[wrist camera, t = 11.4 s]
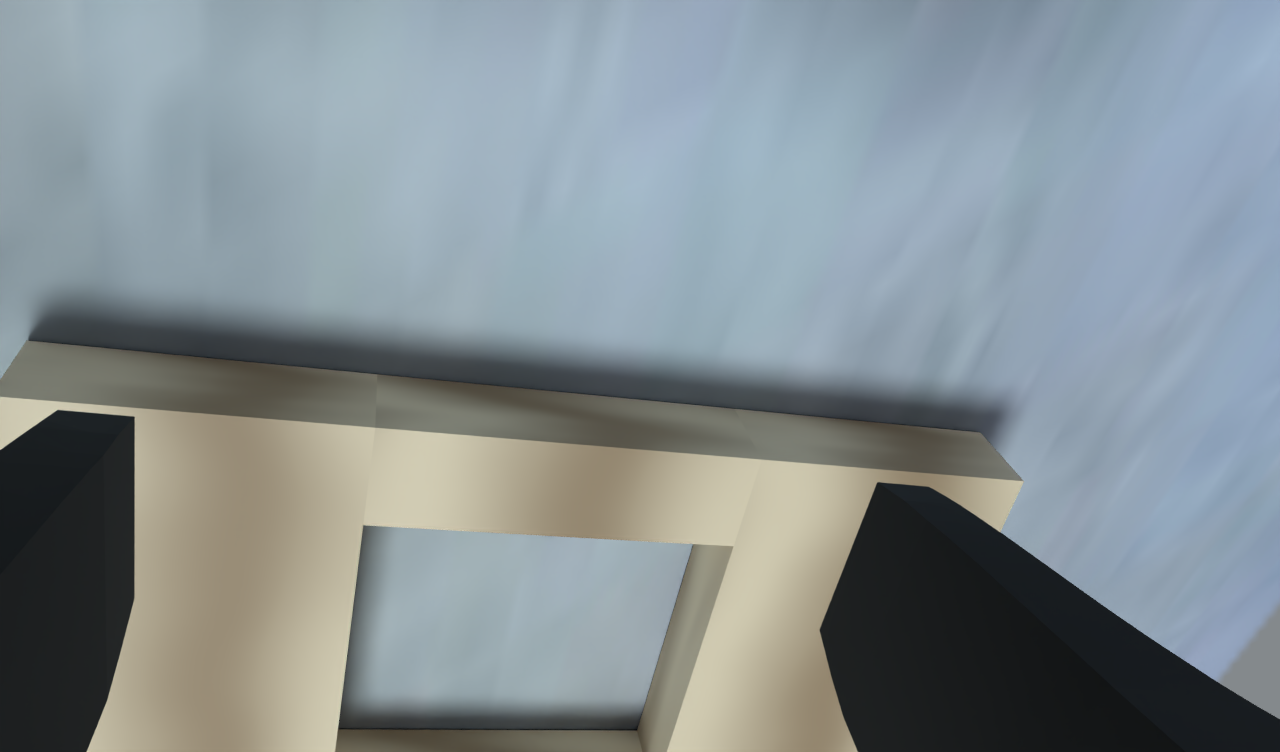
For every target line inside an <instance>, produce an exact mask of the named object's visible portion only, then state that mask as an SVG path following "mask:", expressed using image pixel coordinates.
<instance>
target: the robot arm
mask: <svg viewBox="0 0 1280 752" xmlns="http://www.w3.org/2000/svg"><path fill="white" fill-rule="evenodd" d="M134 599H135V417H134V416H123V415H111V414H100V413H89V412H77V411H66V410H57V411H55V412H54V413H52V414H51V415H49V416H48V417H46V418H45V419H44V420H42V421H41V422H39V423H38V424H36V425H35V426H33V427H32V428H31V429H29V430H28V431H26V432H25V433H23V434H22V435H20V436H19V437H18V438H16V439H15V440H13V441H12V442H11V443H9V444H8V445H6V446H5V447H4V448H2V449H1V450H0V752H87V750H88V747H89V745H90V742H91V740H92V737H93V735H94V732H95V730H96V728H97V725H98V723H99V720H100V717H101V715H102V712H103V710H104V707H105V705H106V702H107V699H108V696H109V692H110V689H111V685H112V681H113V678H114V674H115V671H116V667H117V663H118V660H119V656H120V652H121V649H122V645H123V641H124V637H125V633H126V629H127V626H128V622H129V618H130V614H131V610H132V606H133V602H134ZM819 630H820V634H821V638H822V642H823V646H824V650H825V654H826V658H827V662H828V666H829V669H830V673H831V677H832V681H833V684H834V687H835V691H836V694H837V697H838V701H839V704H840V707H841V711H842V714H843V717H844V720H845V722H846V725H847V727H848V729H849V732H850V734H851V737H852V739H853V742H854V744H855V746H856V749H857V751H858V752H1280V719H1278V718H1276V717H1275V716H1273V715H1271V714H1269V713H1268V712H1266V711H1264V710H1262V709H1261V708H1259V707H1257V706H1256V705H1254V704H1252V703H1251V702H1249V701H1247V700H1246V699H1244V698H1242V697H1241V696H1239V695H1237V694H1236V693H1234V692H1233V691H1231V690H1229V689H1228V688H1226V687H1224V686H1223V685H1221V684H1220V683H1218V682H1216V681H1215V680H1213V679H1212V678H1210V677H1209V676H1207V675H1206V674H1204V673H1202V672H1201V671H1199V670H1198V669H1196V668H1195V667H1193V666H1192V665H1190V664H1189V663H1187V662H1186V661H1184V660H1183V659H1181V658H1180V657H1178V656H1176V655H1175V654H1173V653H1172V652H1170V651H1169V650H1167V649H1166V648H1164V647H1163V646H1161V645H1160V644H1158V643H1157V642H1155V641H1154V640H1152V639H1151V638H1149V637H1148V636H1146V635H1145V634H1143V633H1142V632H1140V631H1139V630H1137V629H1136V628H1134V627H1133V626H1132V625H1130V624H1129V623H1127V622H1126V621H1124V620H1123V619H1121V618H1120V617H1118V616H1117V615H1116V614H1114V613H1113V612H1111V611H1110V610H1108V609H1107V608H1106V607H1104V606H1103V605H1101V604H1100V603H1098V602H1097V601H1096V600H1094V599H1093V598H1091V597H1090V596H1089V595H1087V594H1086V593H1084V592H1083V591H1082V590H1080V589H1079V588H1077V587H1076V586H1075V585H1073V584H1072V583H1070V582H1069V581H1068V580H1066V579H1065V578H1063V577H1062V576H1061V575H1059V574H1058V573H1056V572H1055V571H1054V570H1052V569H1051V568H1049V567H1048V566H1047V565H1045V564H1044V563H1042V562H1041V561H1040V560H1038V559H1037V558H1035V557H1034V556H1033V555H1031V554H1030V553H1028V552H1027V551H1026V550H1024V549H1023V548H1022V547H1020V546H1019V545H1017V544H1016V543H1015V542H1013V541H1012V540H1010V539H1009V538H1008V537H1006V536H1005V535H1003V534H1002V533H1000V532H999V531H998V530H996V529H995V528H993V527H992V526H990V525H989V524H987V523H986V522H985V521H983V520H982V519H980V518H979V517H977V516H976V515H974V514H973V513H971V512H970V511H968V510H967V509H965V508H964V507H962V506H961V505H959V504H958V503H956V502H954V501H953V500H951V499H950V498H948V497H946V496H944V495H943V494H941V493H939V492H937V491H936V490H934V489H932V488H930V487H927V486H916V485H905V484H893V483H882V482H877V484H876V487H875V489H874V492H873V494H872V497H871V499H870V502H869V505H868V507H867V510H866V512H865V515H864V517H863V520H862V522H861V525H860V528H859V530H858V533H857V535H856V538H855V540H854V543H853V545H852V548H851V550H850V553H849V556H848V558H847V561H846V563H845V566H844V568H843V571H842V573H841V576H840V578H839V581H838V584H837V586H836V589H835V591H834V594H833V596H832V599H831V601H830V604H829V607H828V609H827V612H826V614H825V617H824V619H823V622H822V624H821V627H820V629H819Z"/></svg>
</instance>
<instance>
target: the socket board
mask: <svg viewBox="0 0 1280 752" xmlns="http://www.w3.org/2000/svg"><path fill="white" fill-rule="evenodd" d="M57 410H66V411H77V412H89V413H100V414H111V415H123V416H134V417H135V599H134V602H133V606H132V610H131V614H130V618H129V622H128V626H127V629H126V633H125V637H124V641H123V645H122V649H121V652H120V656H119V660H118V663H117V667H116V671H115V674H114V678H113V681H112V685H111V689H110V692H109V696H108V699H107V702H106V705H105V707H104V710H103V712H102V715H101V717H100V720H99V723H98V725H97V728H96V730H95V732H94V735H93V737H92V740H91V742H90V745H89V747H88V750H87V752H858V751H857V749H856V746H855V744H854V742H853V739H852V737H851V734H850V732H849V729H848V727H847V725H846V722H845V720H844V717H843V714H842V711H841V707H840V704H839V701H838V697H837V694H836V691H835V687H834V684H833V681H832V677H831V673H830V669H829V666H828V662H827V658H826V654H825V650H824V646H823V642H822V638H821V634H820V630H819V629H820V627H821V624H822V622H823V619H824V617H825V614H826V612H827V609H828V607H829V604H830V601H831V599H832V596H833V594H834V591H835V589H836V586H837V584H838V581H839V578H840V576H841V573H842V571H843V568H844V566H845V563H846V561H847V558H848V556H849V553H850V550H851V548H852V545H853V543H854V540H855V538H856V535H857V533H858V530H859V528H860V525H861V522H862V520H863V517H864V515H865V512H866V510H867V507H868V505H869V502H870V499H871V497H872V494H873V492H874V489H875V487H876V484H877V482H882V483H893V484H905V485H916V486H927V487H930V488H932V489H934V490H936V491H937V492H939V493H941V494H943V495H944V496H946V497H948V498H950V499H951V500H953V501H954V502H956V503H958V504H959V505H961V506H962V507H964V508H965V509H967V510H968V511H970V512H971V513H973V514H974V515H976V516H977V517H979V518H980V519H982V520H983V521H985V522H986V523H987V524H989V525H990V526H992V527H993V528H995V529H996V530H998V531H999V532H1001V529H1002V527H1003V525H1004V523H1005V521H1006V519H1007V517H1008V514H1009V512H1010V510H1011V508H1012V506H1013V504H1014V502H1015V499H1016V497H1017V495H1018V493H1019V491H1020V489H1021V486H1022V484H1023V482H1024V481H1023V480H1022V479H1021V477H1020V476H1019V475H1018V474H1017V473H1016V472H1015V471H1014V470H1013V469H1012V467H1011V466H1010V465H1009V464H1008V463H1007V462H1006V461H1005V460H1004V458H1003V457H1002V456H1001V455H1000V454H999V453H998V452H997V451H996V450H995V448H994V447H993V446H992V445H991V444H990V443H989V442H988V441H987V439H986V438H985V437H984V436H983V435H982V434H981V433H980V432H970V431H959V430H949V429H938V428H928V427H918V426H907V425H897V424H887V423H876V422H866V421H856V420H845V419H835V418H824V417H814V416H804V415H793V414H783V413H773V412H762V411H752V410H741V409H731V408H721V407H710V406H700V405H690V404H679V403H669V402H659V401H648V400H638V399H627V398H617V397H607V396H596V395H586V394H576V393H565V392H555V391H545V390H534V389H524V388H513V387H503V386H493V385H482V384H472V383H462V382H451V381H441V380H431V379H420V378H410V377H399V376H389V375H379V374H368V373H358V372H348V371H337V370H327V369H316V368H306V367H296V366H285V365H275V364H265V363H254V362H244V361H234V360H223V359H213V358H202V357H192V356H182V355H171V354H161V353H151V352H140V351H130V350H120V349H109V348H99V347H88V346H78V345H68V344H57V343H47V342H37V341H26V342H25V344H24V345H23V347H22V348H21V350H20V351H19V353H18V354H17V356H16V357H15V359H14V360H13V362H12V363H11V365H10V366H9V368H8V369H7V371H6V372H5V374H4V375H3V377H2V378H1V380H0V450H1V449H2V448H4V447H5V446H6V445H8V444H9V443H11V442H12V441H13V440H15V439H16V438H18V437H19V436H20V435H22V434H23V433H25V432H26V431H28V430H29V429H31V428H32V427H33V426H35V425H36V424H38V423H39V422H41V421H42V420H44V419H45V418H46V417H48V416H49V415H51V414H52V413H54V412H55V411H57ZM363 525H368V526H385V527H403V528H420V529H438V530H455V531H473V532H491V533H508V534H526V535H543V536H561V537H578V538H596V539H613V540H631V541H648V542H666V543H684V544H693V548H692V551H691V554H690V558H689V561H688V564H687V567H686V571H685V574H684V577H683V581H682V584H681V587H680V591H679V594H678V597H677V600H676V604H675V607H674V610H673V614H672V617H671V620H670V624H669V627H668V630H667V633H666V637H665V640H664V643H663V647H662V650H661V653H660V657H659V660H658V663H657V666H656V670H655V673H654V676H653V680H652V683H651V686H650V690H649V693H648V696H647V699H646V703H645V706H644V709H643V713H642V716H641V719H640V722H639V726H638V729H637V731H618V730H369V729H338V724H339V716H340V708H341V700H342V692H343V684H344V676H345V668H346V660H347V652H348V644H349V635H350V627H351V619H352V611H353V603H354V595H355V587H356V579H357V571H358V563H359V555H360V547H361V539H362V531H363Z"/></svg>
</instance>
